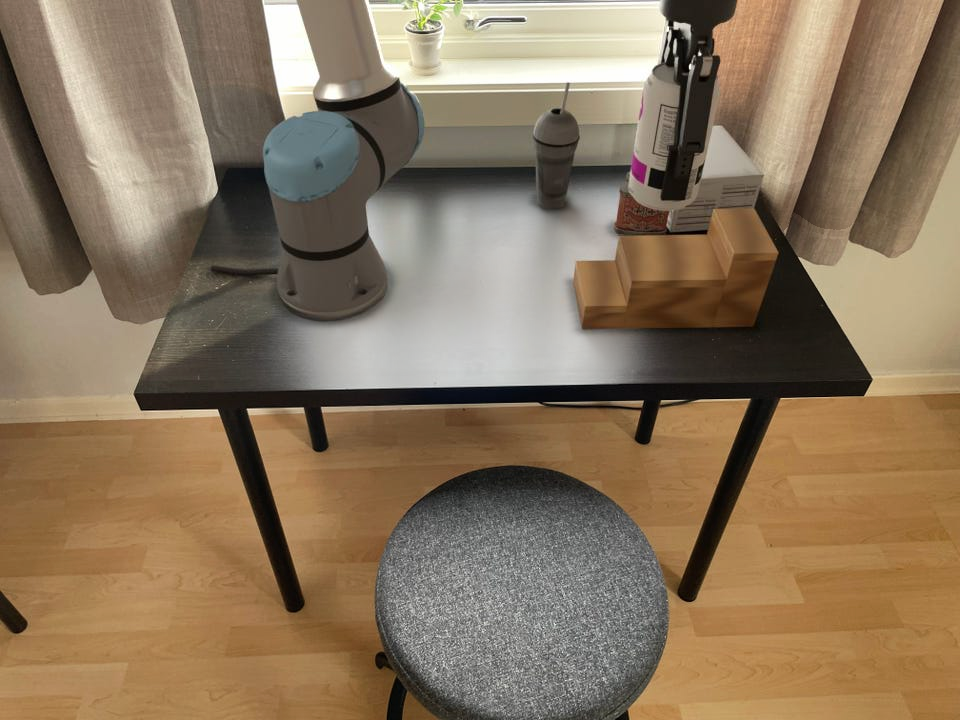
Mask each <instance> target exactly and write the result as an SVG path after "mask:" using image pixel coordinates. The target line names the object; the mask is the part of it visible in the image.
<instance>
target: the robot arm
mask: <svg viewBox="0 0 960 720" xmlns="http://www.w3.org/2000/svg"><path fill="white" fill-rule="evenodd" d="M738 1H739V0H659V12H660V13H661V15H662V16H663V17H664V20H665V21H664V31H663V35H662V36H663V37H662V41H661V46H660V50H659V55H658V60H657V64H656V65H658V64H660V63H664V62H665V65H666V66H668V67H674V82H675V83H676V84H678V85H679V86H680V93H679V105H678V110H677V116H676V121H675V132H674V143H673V145H667V151H669V153H668V159H667V164H666V169H665V175H664V180H663V185H662V191H661V196H660V198H661V201H680V200H685V198H686V193H687V189H688V184H689V179H690V175H691V170H692V165H693V161H694V156H695V153H703V152H704V149H705V141H706V135H707V128H708V122H709V116H710V110H711V103H712V97H713V91H714V84H715V79H716V76H717V75H718V72H719V69H720V65H721V56H720V55H719V54H718V55H717V54H715V55H714V52H715V43H716V42H715V41H716V40H715V38H714V29H715V28H716V27H717V26H718V25H720V24H725V23H727V22H729V21H730V20H731V19H732V18H733V17H734V16H735V14H736V10H737V5H738ZM296 4H297V7H298V10H299V13H300V17H301V19H302V23H303V26H304V30H305V33H306V36H307V40H308V42H309V46H310V50H311V53H312V55H313V59H314V63H315V66H316V69H317V72H318V76H319V77H318V80H317V81H316V84H315V85H314V87H313V89H312V95H313V98H314V101H315V106H316V108H317V110H314V111H306V112H302V114H301V116H296V115H292V116H290V117H288V118H286V119H284V120H283V121H281V122H280V123H278V124H277V125H276V126H274V127H273V129H271V131H270V132H269V133H268V135H267V136H266V138H265V140H264V142H263V148H262V159H263V163H264V165H263V166H264V168H263V172H264V178H265V182H266V184H267V188H268V192H269V196H270V200H271V203H272V204H271V205H272V209H273V213H274V218H275V221H276V226H277V231H278V235H279V238H280V244H281V250H280V255H279V262H278V267H277V268H276V267H275V268H254V269H242V268H232V267H226V266H219V265H211V266H210V271H211V272H214V273H220V274H227V275H228V274H229V275H234V276H263V275H264V276H266V275H267V276H269V275H276V290H277V293H278V297H279V300H280V302H281V304H282V305H283V306H284V308H285V309H286V310H288V311H289V312H291V313H292V314H294V315H296V316H298V317H301V318H304V319H307V320H313V321H339V320H344V319H349V318H352V317H355V316H357V315H360V314H363V313H365V312H366V311H369V310H370V309H371V308H373V307H375V306H376V305H377V304H378V303H379V302H380V301H381V300H382V298H383V297H384V296H385V294H386V292H387V289H388V285H389V282H388V272H387V269H386V265H385V263H384V260H383V258H382V256H381V254H380V253H379V251H378V249H377V246H376V245H375V243H374V241H373V239H372V238H371V236H370V230H369V224H368V223H369V222H368V221H369V220H368V213H367V203H368V201H369V199H370V198H372V197H373V196H374V195H375V194H376V193H377V192H378V191H379V190H380V189H381V188H382V187H383V186H384V185H386V183H387V182H388V181H389V180H390V179H391V178H392V177H393V176H394V175H395V174H396V173H397V172H398V171H400V170H402V169H404V168H405V166H407V165H408V164H409V163H410V162H411V160H412V158H413V157H414V155H415V154H416V153H417V152H418V150H419V149H420V146H421V144H422V142H423V139H424V135H425V128H426V127H425V126H426V125H425V115H424V110H423V108H422V105H421V102H420V101H419V99H418V97H417V95H416V94H415V93H414V92H411V91H410V90H409V87H408V85H407V84H405V83H404V82H402V81H401V80H400V75H399V73H398V72H399V71H398V70H397V69H396V68H394V67H393V66H392V65H390V64H388V63H387V62H386V61H384V58H383V54H382V51H381V50H382V49H381V46H380V43H379V39H378V34H377V31H376V26H375V22H374V18H373V14H372V10H371V5H370V2H369V0H296ZM682 73H689V75H683V74H682Z"/></svg>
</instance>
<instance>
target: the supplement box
mask: <svg viewBox="0 0 960 720" xmlns="http://www.w3.org/2000/svg"><path fill="white" fill-rule="evenodd" d="M764 176H765V174H764V173H763V171H761V169H760V168H759V167H758V165H756V163H755V162H754V161H753V160H752V159H751V158H750V157H749V156H748V154H747V153H746V152H745V151H744V150H743V149H742V147H741V146H740V145H739V144H738V143H737V142H736V140H735V139H734V138H733V137H732V136H731V135H730V133H729V132H728V131H727V130H726V128H725V127H724V126H723V125H722V124H721V125H713V128H712V133H711V137H710V141H709V146H708V150H707V154H706V159H705V163H704V168H703V172H702V176H701V181H700V185H699V190H698V194H697V196H696V199H695V201H693V202H692V203H690V204H689V205H687V206H685V207H684V208H682V209H678V210H674V211H669V215H668V220H667V225H666V227H667V230H668V231H669V233H680V232H696V231H708V228H709V224H710V220H711V217H712V213H713V209H755V207H756V203H757V200H758V196H759V193H760V189H761V186H762V183H763V181H764Z"/></svg>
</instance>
